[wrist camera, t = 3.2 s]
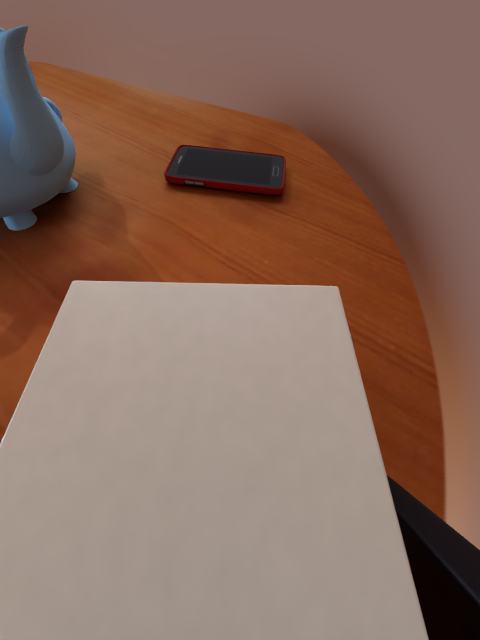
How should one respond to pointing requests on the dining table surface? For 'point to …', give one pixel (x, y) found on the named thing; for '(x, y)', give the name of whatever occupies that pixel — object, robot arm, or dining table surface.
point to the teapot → (28, 139)
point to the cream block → (199, 474)
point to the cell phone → (227, 169)
